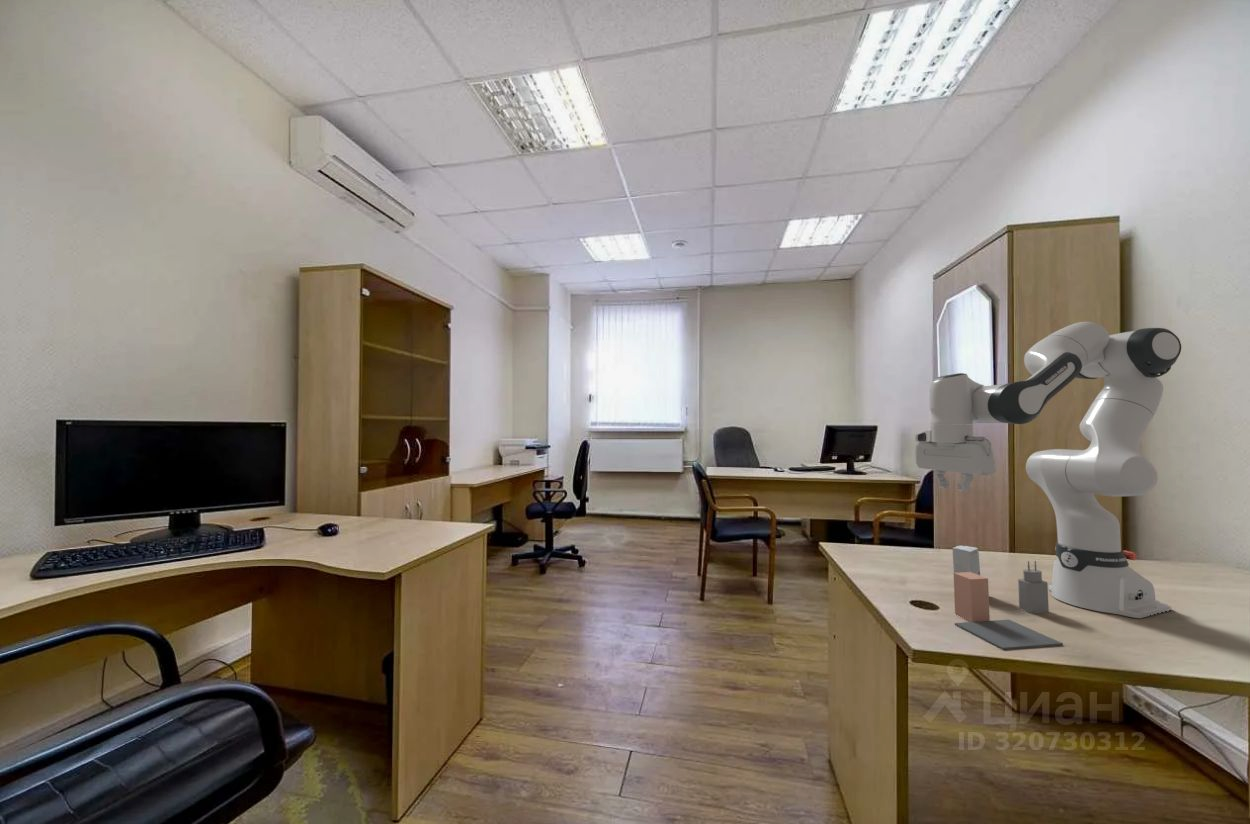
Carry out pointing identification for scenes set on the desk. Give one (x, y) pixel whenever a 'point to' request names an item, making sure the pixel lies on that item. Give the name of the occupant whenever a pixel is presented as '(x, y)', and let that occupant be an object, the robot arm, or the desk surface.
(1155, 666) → the desk surface
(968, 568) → the skincare box
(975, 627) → the mat
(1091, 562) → the robot arm
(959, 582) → the block
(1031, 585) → the power adapter
